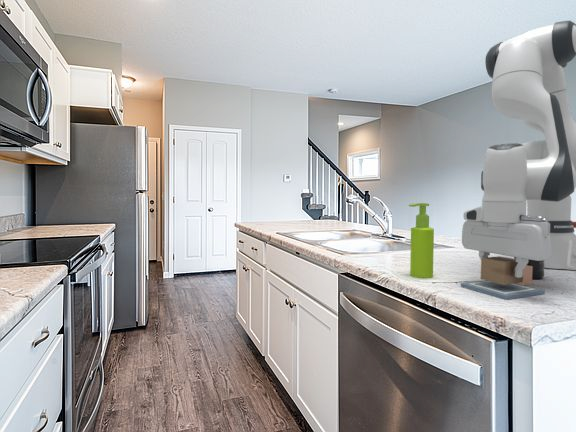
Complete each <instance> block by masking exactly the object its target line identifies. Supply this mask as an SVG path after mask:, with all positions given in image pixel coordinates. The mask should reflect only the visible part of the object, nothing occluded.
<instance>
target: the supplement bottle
mask: <svg viewBox="0 0 576 432" xmlns="http://www.w3.org/2000/svg"><path fill="white" fill-rule="evenodd" d="M513 259H516V257H513ZM527 265H528V266H533V269H532V280H542V279H543V278H544V277H545V268H544V260H542V261H536V260H530V259H528V264H527Z"/></svg>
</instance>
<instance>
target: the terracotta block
mask: <svg viewBox="0 0 576 432" xmlns="http://www.w3.org/2000/svg"><path fill="white" fill-rule="evenodd" d="M532 269H533V266H528V265H526V266H525V268H524V269H523V282H521V283H516V284H520V285H524V286H528V285H532V284H533V279H532Z"/></svg>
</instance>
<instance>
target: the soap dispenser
mask: <svg viewBox="0 0 576 432" xmlns="http://www.w3.org/2000/svg"><path fill="white" fill-rule="evenodd" d="M408 206H409V207H412V208H413V207H417V206H419V207H418V210H419V211H418V212H419V213H418V214H417V215H415V227H414V226H413V227H411V228H410V263H409V264H410V268H409V269H410V272H409V273H410V277H413V278H417V279H418V278H419V279H429V278H430V279H431V278H433V277H434V250H435V249H434V244H435V243H434V239H435V238H434V237H435V233H434V230H435V229H434V228H433V227H430V215H428V214H427V207H428V206H430V204H429V203H423V202H415V203H410V204H408Z"/></svg>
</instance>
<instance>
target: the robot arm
mask: <svg viewBox="0 0 576 432" xmlns="http://www.w3.org/2000/svg"><path fill="white" fill-rule="evenodd" d="M575 57H576V23H575V22H574V21H572V20H562V21H557V22H555V23H554V24H549V25H545V26H541V27H538V28H533V29H530V30H527V31H526V32H525V33H522V34H519V35H516V36H514V37H511V38H510V39H506V40H505V41H501V42H497V43H496V44H494V45H492V47H490V48H489V50H488V51H487V53H486V54H485V60H484V62H485V70H486V73H487V75H488V76H489V78H491V79H492V82H491V101H492V105H493V107H494V109H496V110H497V111H498V112H500V114H502V115H504V116H506V117H509V118H513V119H516V120H523V121H524V123H525V125H527V126H528V128H530V129H533V130H536V131H539V132H541V133H542V134H543V135H544V137H545V139H544V140H537V141H536V140H533V141H527V142H523V143H517V142H516V143H511V142H510V143H501V144H494V145H490V147H488V148H486V151H485V156H484V161H483V167H482V168H483V169H482V171H481V176H480V188H481V190H482V191H483V192H484V193H483V195H482V199H481V205H480V206H478V207H475V208H473V209H468V210H466V211H464V212H463V219H464V220H465V221H464V223H463V225H462V230H461V245H462V247H463V248H464V249H466V250H471V251H477V252H478V257H479V259H480V260H481V258H487V257H490V255H491V254H495V255H501V256H507V257H508V256H509V257H513V258H514V257H516V262H518V264H517V266H516V267H515V269H511V272H512V273H511V276H513V277H517V278H520V277H522V276H523V269H524V268H525V266H526V265H527V264H528V259H530V260H536V261H542V260H544V269H556V270H557V269H558V270H571V271H576V234H575V233H574V232H575V229H576V221H573V220H571V219H572V218H571V216H572V215H571V214H572V196H571V195H573V193H575V190H576V122H575V120H574V118H573V116H572V113H571V110H570V109H571V108H570V104H569V96H568V89H567V88H568V86H567V81H566V75H565V71H564V68H566V67H567V65H568V63H570V62H571V61H573V59H574V58H575Z"/></svg>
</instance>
